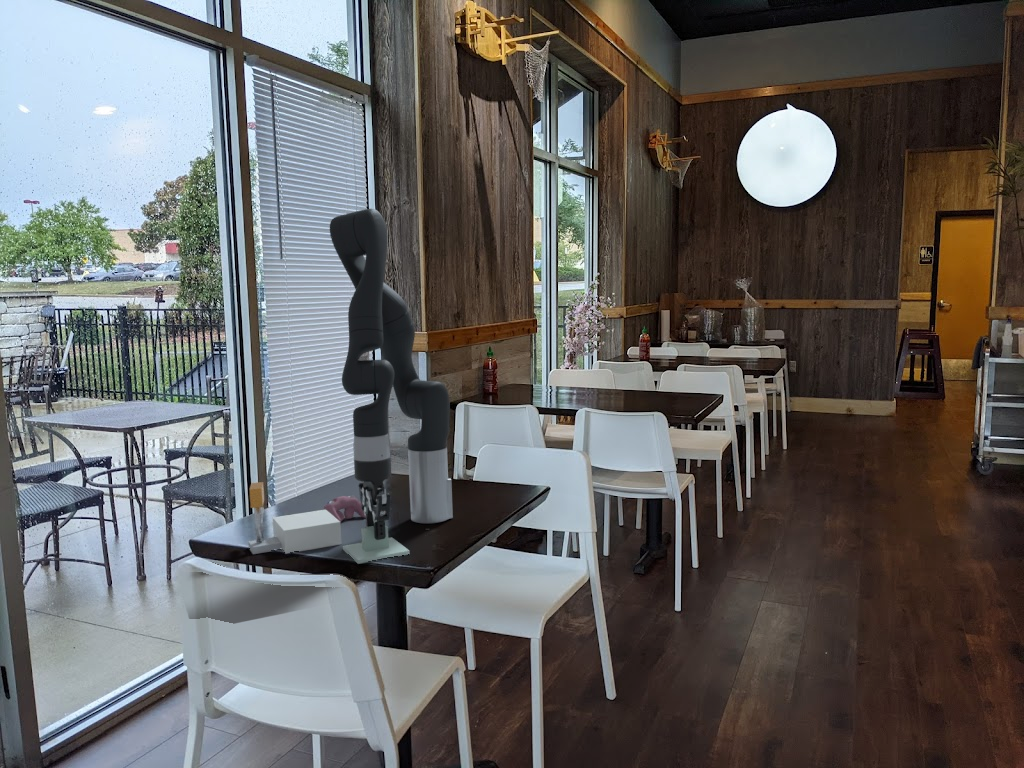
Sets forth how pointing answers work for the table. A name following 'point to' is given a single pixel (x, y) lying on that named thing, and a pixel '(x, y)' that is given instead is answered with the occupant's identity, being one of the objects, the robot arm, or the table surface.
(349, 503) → the pink animal figurine
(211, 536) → the table surface
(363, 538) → the cover
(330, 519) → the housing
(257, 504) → the t key
